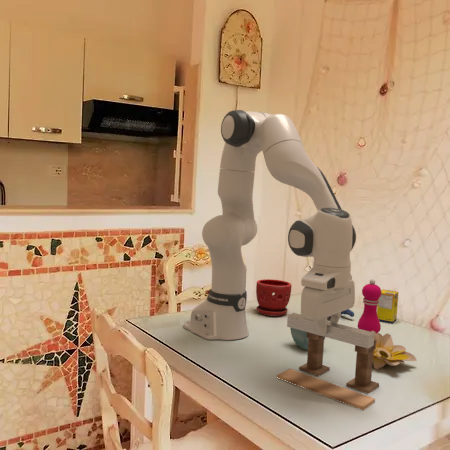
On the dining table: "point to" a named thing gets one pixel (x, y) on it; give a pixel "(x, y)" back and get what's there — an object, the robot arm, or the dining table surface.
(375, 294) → the pepper mill
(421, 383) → the dining table surface
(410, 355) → the decorative flower
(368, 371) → the walnut post
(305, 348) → the flower pot
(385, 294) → the supplement box
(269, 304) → the plant pot
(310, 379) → the light wood flat board
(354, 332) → the steel rail
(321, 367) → the walnut post
